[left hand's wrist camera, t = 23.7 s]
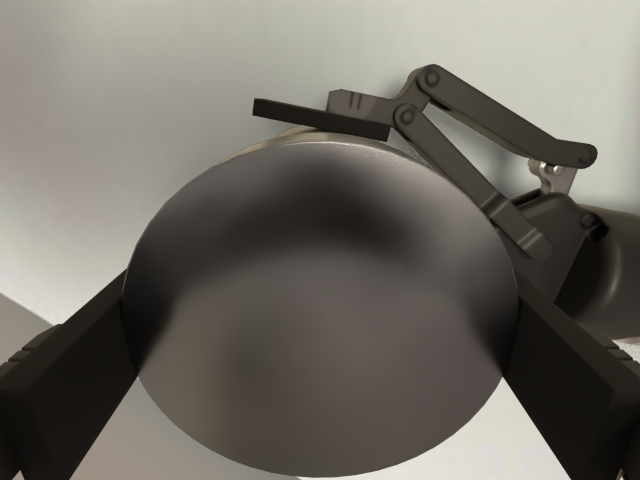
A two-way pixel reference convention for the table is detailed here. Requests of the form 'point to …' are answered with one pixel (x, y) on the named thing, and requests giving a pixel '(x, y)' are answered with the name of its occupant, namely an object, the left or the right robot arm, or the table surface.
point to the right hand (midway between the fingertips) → (245, 210)
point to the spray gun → (622, 475)
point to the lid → (320, 307)
